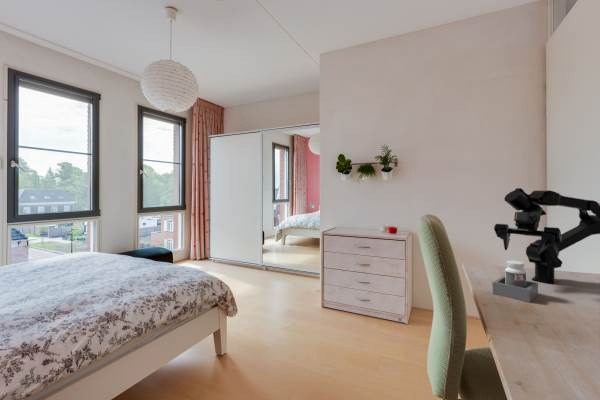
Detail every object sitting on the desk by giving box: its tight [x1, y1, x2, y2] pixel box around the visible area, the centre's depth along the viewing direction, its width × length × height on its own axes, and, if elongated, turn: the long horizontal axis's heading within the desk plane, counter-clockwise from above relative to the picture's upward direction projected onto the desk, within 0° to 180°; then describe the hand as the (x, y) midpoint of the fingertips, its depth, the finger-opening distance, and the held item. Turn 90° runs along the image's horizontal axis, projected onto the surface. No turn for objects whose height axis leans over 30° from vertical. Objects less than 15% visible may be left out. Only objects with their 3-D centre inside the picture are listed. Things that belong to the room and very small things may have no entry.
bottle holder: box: [492, 275, 539, 303], centre depth 95 cm, size 10×10×4 cm
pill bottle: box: [504, 260, 527, 288], centre depth 95 cm, size 6×6×10 cm
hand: (520, 251), depth 99 cm, fingers open, 9 cm apart
